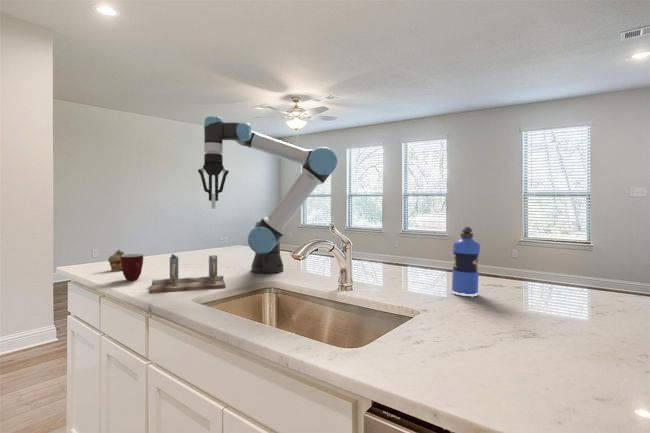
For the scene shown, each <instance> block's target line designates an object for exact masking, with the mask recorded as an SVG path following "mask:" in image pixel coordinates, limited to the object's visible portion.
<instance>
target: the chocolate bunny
mask: <svg viewBox="0 0 650 433" xmlns="http://www.w3.org/2000/svg"><path fill="white" fill-rule="evenodd" d="M122 255H125V251H123V250H121V249H120V248H119V249H117V250H116V251H115V253H114V254H111V255H110V256H109V257H108V263H109V266H110V268H111V269H110V271H111V272H123V271H122V266H121V256H122Z"/></svg>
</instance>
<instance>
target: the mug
mask: <svg viewBox="0 0 650 433" xmlns="http://www.w3.org/2000/svg"><path fill="white" fill-rule="evenodd" d="M143 263H144V254H142V253H131V254H130V253H129V254H123V255H122V256H121V266H122V271H121V272H122V274H123V276H124V278H125V279H126V281H129V282H130V281H131V282H132V281H137V280H139V278H140V276H141V274H142V269H143V265H144V264H143Z"/></svg>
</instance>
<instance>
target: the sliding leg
mask: <svg viewBox="0 0 650 433" xmlns="http://www.w3.org/2000/svg"><path fill="white" fill-rule="evenodd" d="M178 278H179V256H178V254H177V253H171V254H170V256H169V279H173V281H175V279H178Z"/></svg>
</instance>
